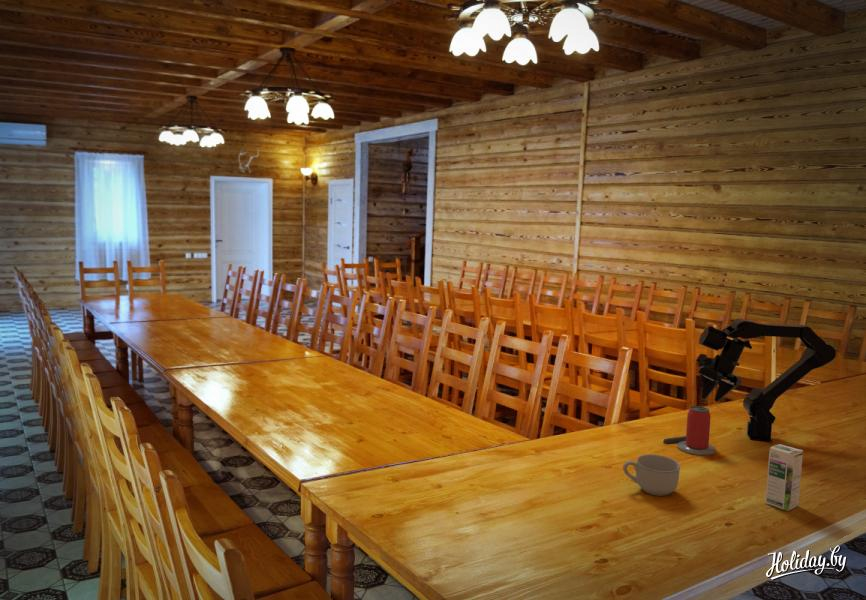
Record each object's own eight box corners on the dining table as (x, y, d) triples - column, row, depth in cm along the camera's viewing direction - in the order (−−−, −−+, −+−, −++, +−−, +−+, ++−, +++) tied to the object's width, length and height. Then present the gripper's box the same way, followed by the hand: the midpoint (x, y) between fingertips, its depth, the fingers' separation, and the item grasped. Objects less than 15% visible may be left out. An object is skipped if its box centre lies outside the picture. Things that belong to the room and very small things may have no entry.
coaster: (714, 445, 207) (714, 443, 207) (717, 457, 197) (717, 454, 197) (676, 441, 211) (676, 439, 211) (677, 452, 200) (677, 450, 200)
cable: (689, 439, 214) (689, 434, 213) (692, 441, 212) (692, 436, 212) (662, 443, 210) (662, 438, 210) (665, 444, 208) (665, 439, 208)
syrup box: (764, 503, 165) (768, 447, 163) (776, 498, 168) (780, 442, 167) (787, 512, 160) (792, 454, 159) (799, 506, 164) (804, 449, 162)
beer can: (713, 449, 202) (715, 410, 200) (695, 451, 200) (697, 412, 198) (698, 442, 208) (700, 404, 207) (680, 444, 206) (683, 406, 204)
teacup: (678, 486, 175) (679, 457, 174) (679, 502, 165) (680, 471, 164) (623, 479, 180) (624, 450, 179) (620, 494, 169) (622, 464, 168)
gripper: (720, 350, 225) (701, 391, 228) (694, 342, 213) (674, 386, 215) (750, 363, 217) (730, 406, 219) (725, 356, 205) (704, 401, 207)
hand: (709, 399), depth 216 cm, fingers open, 9 cm apart
